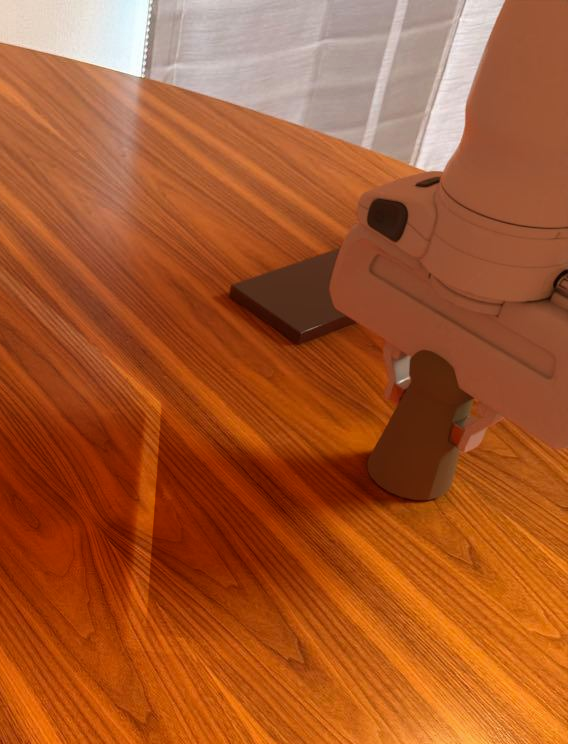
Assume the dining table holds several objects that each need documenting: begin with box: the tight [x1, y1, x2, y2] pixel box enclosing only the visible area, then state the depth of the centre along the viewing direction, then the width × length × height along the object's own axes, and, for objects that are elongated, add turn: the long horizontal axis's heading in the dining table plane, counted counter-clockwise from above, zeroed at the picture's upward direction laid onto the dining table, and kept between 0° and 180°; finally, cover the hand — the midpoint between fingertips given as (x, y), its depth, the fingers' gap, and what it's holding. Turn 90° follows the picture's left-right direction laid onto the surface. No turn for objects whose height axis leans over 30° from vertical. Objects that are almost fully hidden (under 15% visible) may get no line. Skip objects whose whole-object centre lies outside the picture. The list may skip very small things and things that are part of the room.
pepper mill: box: [366, 350, 475, 501], centre depth 67 cm, size 6×6×11 cm
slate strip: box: [228, 247, 357, 345], centre depth 89 cm, size 20×9×1 cm, turn 122°
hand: (428, 422), depth 68 cm, fingers closed on pepper mill, 4 cm apart
